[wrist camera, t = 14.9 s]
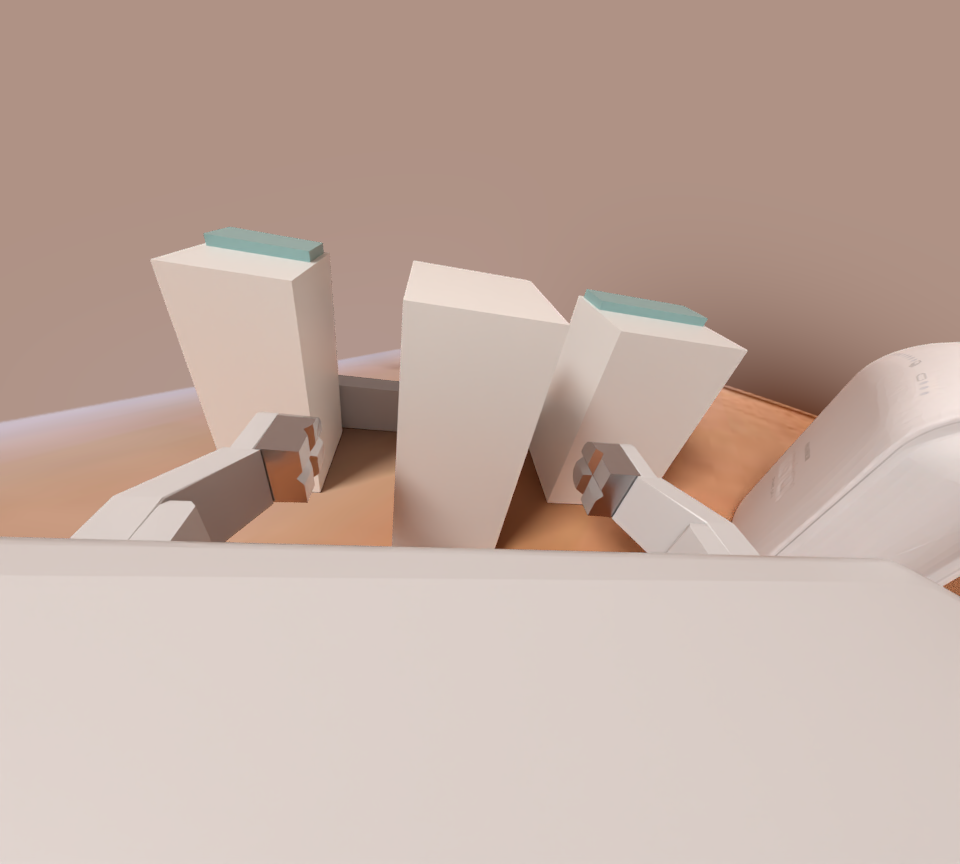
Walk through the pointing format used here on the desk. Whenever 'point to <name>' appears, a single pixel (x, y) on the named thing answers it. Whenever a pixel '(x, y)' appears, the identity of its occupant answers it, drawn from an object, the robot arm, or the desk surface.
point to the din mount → (374, 402)
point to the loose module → (467, 401)
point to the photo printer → (872, 471)
